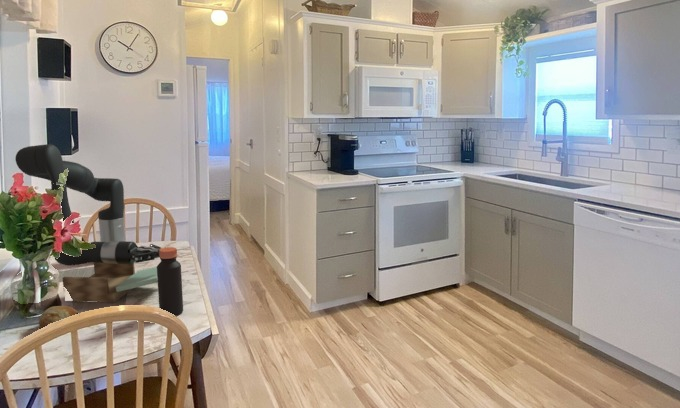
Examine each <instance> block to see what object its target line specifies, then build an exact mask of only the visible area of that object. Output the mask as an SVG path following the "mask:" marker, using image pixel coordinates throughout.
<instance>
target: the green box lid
mask: <svg viewBox="0 0 680 408" xmlns="http://www.w3.org/2000/svg"><path fill="white" fill-rule="evenodd" d="M156 283H157V284H158V279H157V266H154V267H150V268H145V269H142V270H138V271H136V272H135V274H133V275H132V276H131V277H129V278H128V279H127V280H125V281H124V282H122V283H121V284H120V285H118V286H117V287H116V291H117V292H119V291H123V290H127V289H131V290H133V289H135V288H139V287H144V286H148V285H153V284H156ZM132 288H133V289H132Z"/></svg>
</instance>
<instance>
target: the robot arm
mask: <svg viewBox="0 0 680 408" xmlns="http://www.w3.org/2000/svg"><path fill="white" fill-rule="evenodd" d="M15 163H16V165H17V167H18V169H19V170H20V172H22V173H24V174H25V175H27V176H30V177H34V178H38V179H39V178H40V179H44V180H47V181H49V182H50V184H51V186H50V187H51V188H50V189H51V190H54V189H58V188H59V187H60V185H56V182H58V179H59V174H60V173H63V172H64V170H65V169H67V168H68V170H69V172H68V176H67V181H66V184H65V187H64V191H63V199H62V202H61V206H62V213H63V215H64V218H63V221H64V220H65V219H66V218H67V217H69V216H70V215H71V214H72V211H71V206H70V203H69V197H68V189H70V190H73V191H76V192H79V193H82V194H85V195H86V196H89V197H90V198H91V199H94V200H95V201H98V202H109V203H110V204H109V207H107V208H104V209H101V210H99V211H98V213H97V216H98V217H97V218H98V227H99V228H98V229H99V238H100V240H99V241H91V242H90V243H91V244H95V245H96V248H93V249H88V250H82V254H81V256H79V257H73V256H69V255H66V254H64V253H62V252H61V253H60V257H59V258H58V259H56V258H54V260H55V261H56V262H57V263H58V264H60V265H63V266H67V267H68V266H70V267H73V266H78V265H80V266H81V265H85V264H91V263H93V264H94V263H110V264H133V263H134V262H136V263H134V264H139V263H143V262H144V263H145V262H149V261H154V260H155V259H160V256H159V250H160V249H162V247H160V246H158V245H156V244H153V243H151V244H149V246H146V245H140V246H138V245H137V243H136V242H135V241H127V240H126V229H125V219H124V218H125V216H124V213H125V212H124V211H125V200H124V199H125V194H124V193H125V190H124V185H123V182H122V181H121V179H119V178H108V177H107V178H101V177H100V178H99V177H95V175H94V173H93V172H92V170H91V169H89V168H88V167H86V166H84V165H82V164H80V163H78V162H74V161H69V160H63V157H62V154H61V151H60V149H59V148H58V146H56V145H54V144H49V143H48V144H38V145H30V146H26V147H23V148H20V149H19V150H18V151H17V152H16V155H15ZM53 183H54V184H53ZM51 190H50V191H51ZM72 215H73V214H72ZM72 223H75V220H74V219H73V221H72ZM82 241H84V242H85V243H86V241H85V238H83V236H82Z"/></svg>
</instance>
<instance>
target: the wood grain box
mask: <svg viewBox="0 0 680 408" xmlns="http://www.w3.org/2000/svg"><path fill="white" fill-rule="evenodd" d="M93 269H94V270H93V271H94V273H93V274H92V275H90V276H63V277H62V285H63V287H65V288H66V289H67V291H68V292H69V294H70V296H71V298H72V299H73V301H78V302H77V303H82V302H81V301H97V302H96V303H100V302H115V303H116V302H118V301H119V300H121V298H122V297H124V296H125V295H127V294H128V293H129V292H130V291H132V290H133V289H134V288H132V289H127V290H123V291H119V292H117V291H116V287H117V286H118V285H120V284H121V283H122V282H124V281H125V280H127V279H128V278H129V277H131V276H132V275H133V274H135V273H136V272H135V263H133V264H110V263H94V262H93ZM79 301H80V302H79Z"/></svg>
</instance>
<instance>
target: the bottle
mask: <svg viewBox="0 0 680 408" xmlns="http://www.w3.org/2000/svg"><path fill="white" fill-rule="evenodd" d="M177 249H178V248H177V247H172V246H171V247H167V246H166V247H163V248H162V247H161V249H160V250H159V256H160V257H159V259H160V262H159V263H158V264H157V266H156V267H157V279H158V282H157V292H158V294H157V295H158V306H159V307H158V308H161V309H163V310H166V311H168V312H170V313H172V314H174V315H177V316H179V315H181V314H182V313H183V311H184V299H183V297H184V296H183V295H184V294H183V282H182V281H183V280H182V277H183V275H182V266H181V263H180V262H179V261H178V260H177V258H178V250H177Z"/></svg>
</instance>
